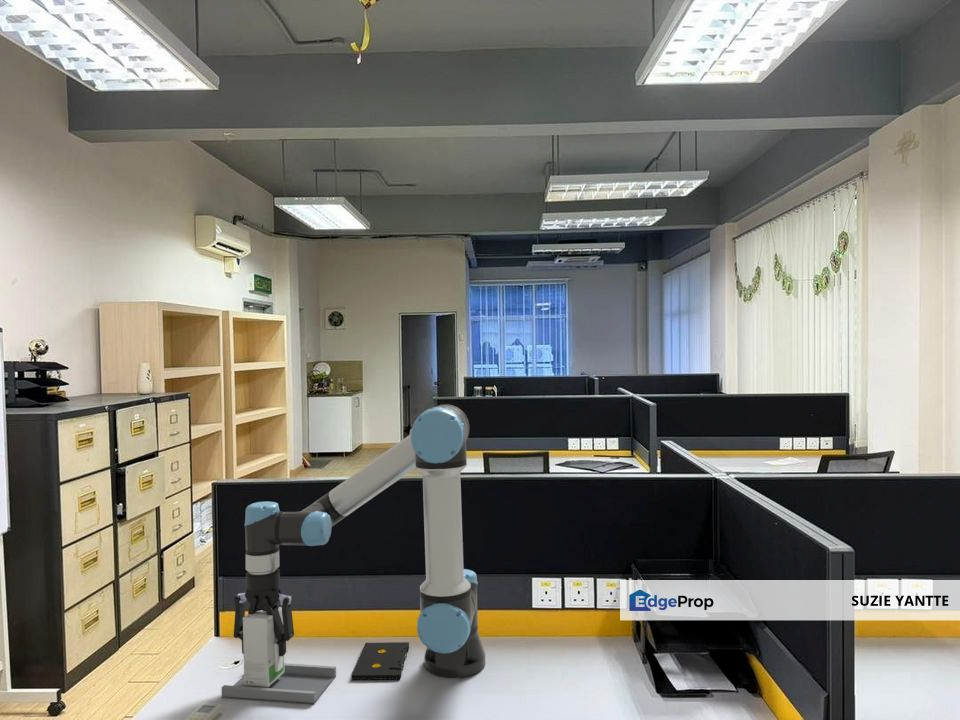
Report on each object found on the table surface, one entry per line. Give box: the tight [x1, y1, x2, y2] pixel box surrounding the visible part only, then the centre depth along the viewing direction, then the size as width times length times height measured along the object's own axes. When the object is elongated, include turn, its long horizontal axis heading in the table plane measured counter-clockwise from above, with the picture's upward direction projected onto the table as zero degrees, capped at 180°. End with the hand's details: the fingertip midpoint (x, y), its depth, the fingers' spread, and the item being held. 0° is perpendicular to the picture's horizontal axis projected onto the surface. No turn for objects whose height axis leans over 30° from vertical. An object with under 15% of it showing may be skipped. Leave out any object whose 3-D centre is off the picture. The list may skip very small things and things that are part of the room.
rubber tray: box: [221, 662, 337, 706], centre depth 154 cm, size 22×13×2 cm, turn 81°
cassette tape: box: [351, 641, 410, 682], centre depth 165 cm, size 18×12×2 cm, turn 179°
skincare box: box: [243, 606, 285, 687], centre depth 154 cm, size 8×7×16 cm
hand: (264, 668), depth 154 cm, fingers closed on skincare box, 6 cm apart
